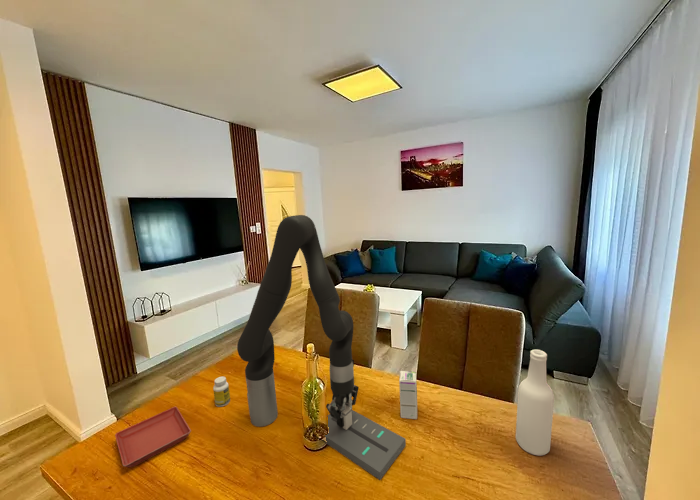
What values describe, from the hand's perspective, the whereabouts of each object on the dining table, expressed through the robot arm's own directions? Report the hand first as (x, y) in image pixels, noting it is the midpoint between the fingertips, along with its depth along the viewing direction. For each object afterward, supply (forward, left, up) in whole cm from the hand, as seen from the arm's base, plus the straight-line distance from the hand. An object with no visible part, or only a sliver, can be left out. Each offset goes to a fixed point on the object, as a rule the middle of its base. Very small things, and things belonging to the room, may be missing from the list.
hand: (344, 422), depth 96 cm
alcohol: (+49, +30, -4) cm, 57 cm away
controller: (-15, +20, -4) cm, 26 cm away
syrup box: (+13, +20, -4) cm, 24 cm away
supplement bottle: (-47, -17, -4) cm, 51 cm away
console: (+6, 0, -4) cm, 7 cm away
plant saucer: (-48, -40, -4) cm, 63 cm away
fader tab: (0, 0, -1) cm, 1 cm away
